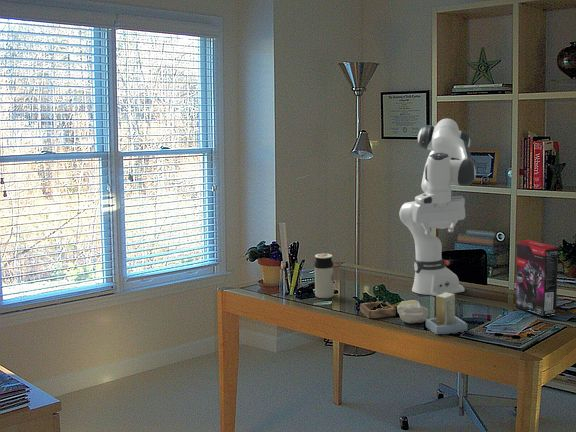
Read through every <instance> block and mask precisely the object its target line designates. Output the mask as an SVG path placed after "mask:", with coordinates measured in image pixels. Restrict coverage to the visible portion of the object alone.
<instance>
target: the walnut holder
mask: <svg viewBox="0 0 576 432" xmlns="http://www.w3.org/2000/svg"><path fill="white" fill-rule="evenodd" d="M381 303H383V302H382V301H375V302H374V301H372V302H365V303H362V302H361V303H360V304H359V311H360V312H361V313H362V314H363V315H364V316H365V315H366V318H368V319H369V318H371V319H379V318H380V319H381V318H387V317H396V316H397V315H396V314H397V313H396V312H397V311H396V310H397V307H394V306H393V305H392V304H390V303H389V302H388V301H386V302H385V304H386V305H387V307H388V309H378V310H371V309H373V308H374V307H376V306H378V305H379V304H381Z"/></svg>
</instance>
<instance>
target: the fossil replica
mask: <svg viewBox="0 0 576 432" xmlns="http://www.w3.org/2000/svg"><path fill="white" fill-rule="evenodd" d="M396 310H397V311H396V312H397V313H398V314H399V317H400V319H401V320H402V321H404V322H405V323H407V324H415V323H419V324H420V323H421V324H422V323H424V322H426V319H429V318H428V317H429V315H430V313H429V311H430V310H429V309H428V308H427V307H425V306H422V305H421V303H420V302H419V300H417V299H411V300H410V299H409V300H402V301H401V302H399V304H398V305H397V306H396Z"/></svg>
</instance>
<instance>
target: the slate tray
mask: <svg viewBox="0 0 576 432" xmlns="http://www.w3.org/2000/svg"><path fill="white" fill-rule="evenodd" d="M425 328H427V330H429V329H430V330H431V331H430V330H429V331H430V332H431V333H433V332H434V333H433V334H434V335H436V334H437V335H436V336H439V335H438V334H443V335H449V334H450V333H452V334H459V333H458V332H461V333H465V332H464V331H467V332H468V323H467V322H466V321H464V320H463V319H461V318H459V317H458V316H457V315H455V324H453V325H443V326H437V325H436V317H433V318H427V319H426V320H425Z"/></svg>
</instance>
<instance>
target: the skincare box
mask: <svg viewBox="0 0 576 432" xmlns="http://www.w3.org/2000/svg"><path fill="white" fill-rule="evenodd" d="M435 304H436V305H435V306H436V307H435V311H436V312H435V314H436V315H435V318H436V325H437V326H443V325H453V324H455V316H456V293H447V292H445V293H442V294H440V295H437V296H435Z"/></svg>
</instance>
